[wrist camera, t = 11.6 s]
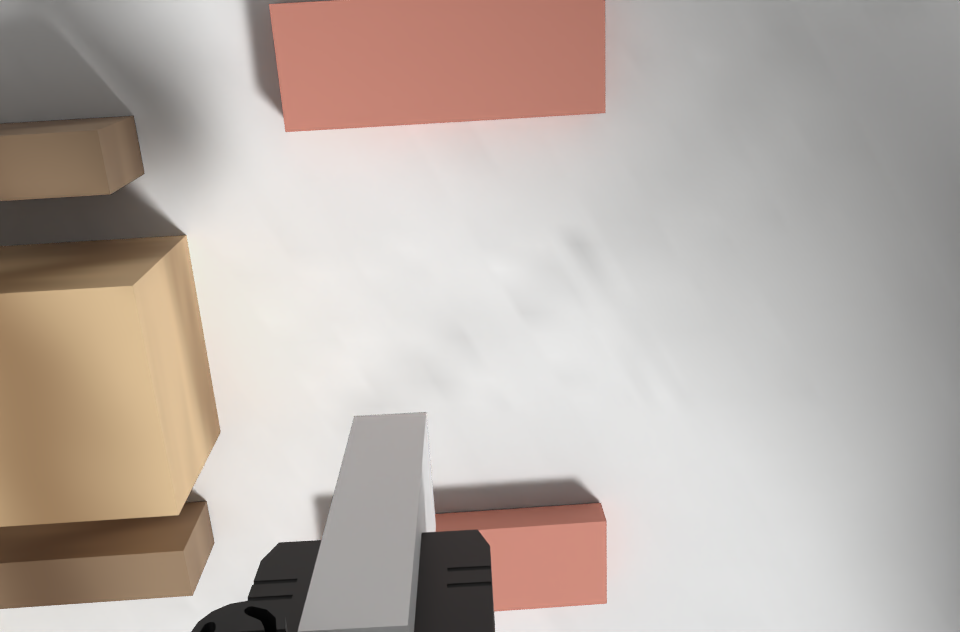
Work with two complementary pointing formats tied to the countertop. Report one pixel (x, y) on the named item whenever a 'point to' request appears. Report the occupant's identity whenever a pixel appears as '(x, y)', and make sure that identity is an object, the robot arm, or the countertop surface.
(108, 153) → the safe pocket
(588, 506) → the mats
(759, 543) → the countertop surface
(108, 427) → the oak block
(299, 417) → the countertop surface
